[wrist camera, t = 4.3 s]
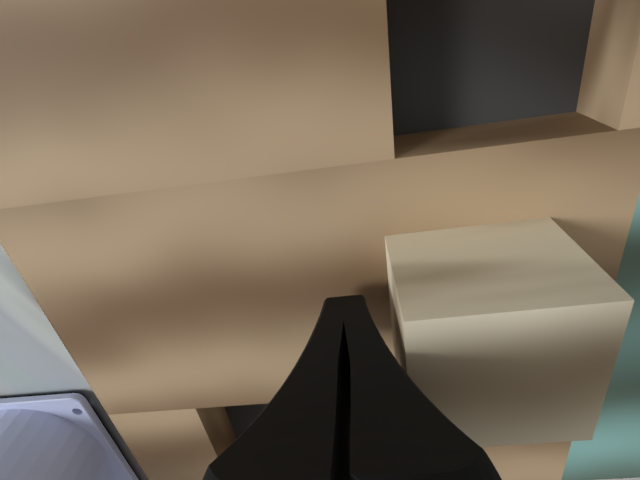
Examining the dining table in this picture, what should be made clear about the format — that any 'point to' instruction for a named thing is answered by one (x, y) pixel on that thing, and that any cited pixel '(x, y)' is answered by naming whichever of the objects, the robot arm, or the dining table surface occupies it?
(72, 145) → the track
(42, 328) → the dining table surface
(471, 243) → the block
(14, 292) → the dining table surface
